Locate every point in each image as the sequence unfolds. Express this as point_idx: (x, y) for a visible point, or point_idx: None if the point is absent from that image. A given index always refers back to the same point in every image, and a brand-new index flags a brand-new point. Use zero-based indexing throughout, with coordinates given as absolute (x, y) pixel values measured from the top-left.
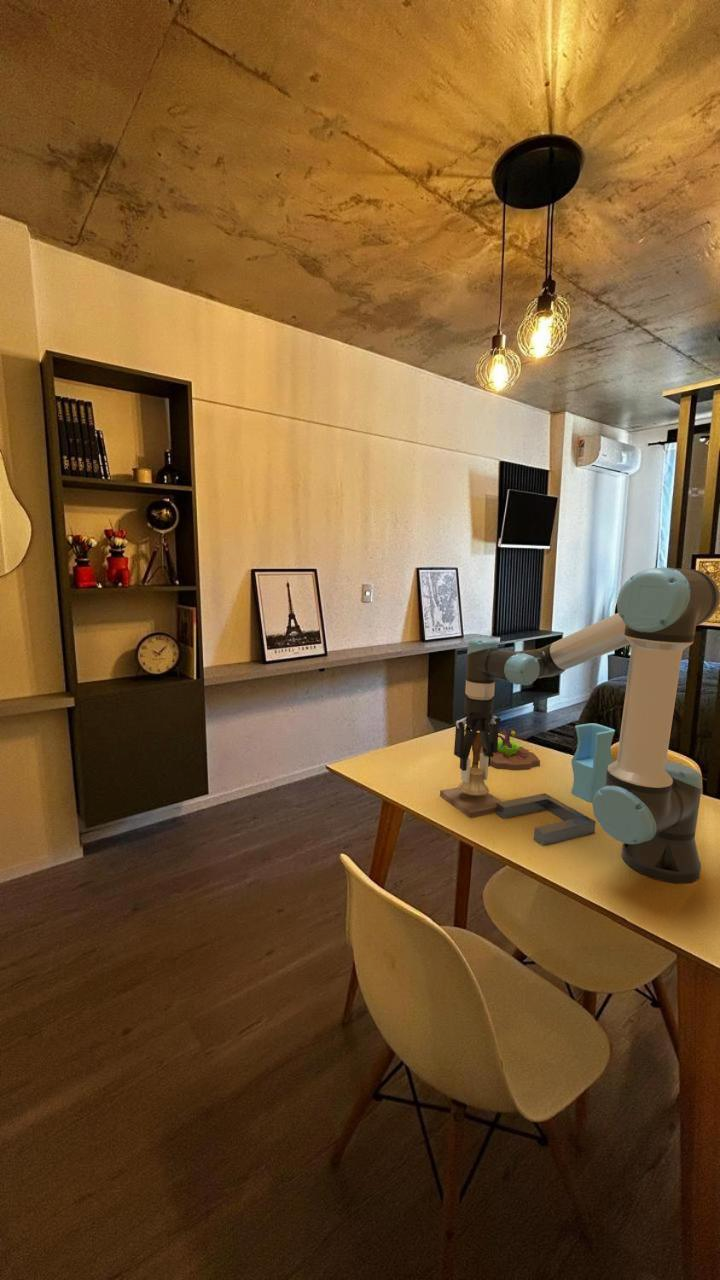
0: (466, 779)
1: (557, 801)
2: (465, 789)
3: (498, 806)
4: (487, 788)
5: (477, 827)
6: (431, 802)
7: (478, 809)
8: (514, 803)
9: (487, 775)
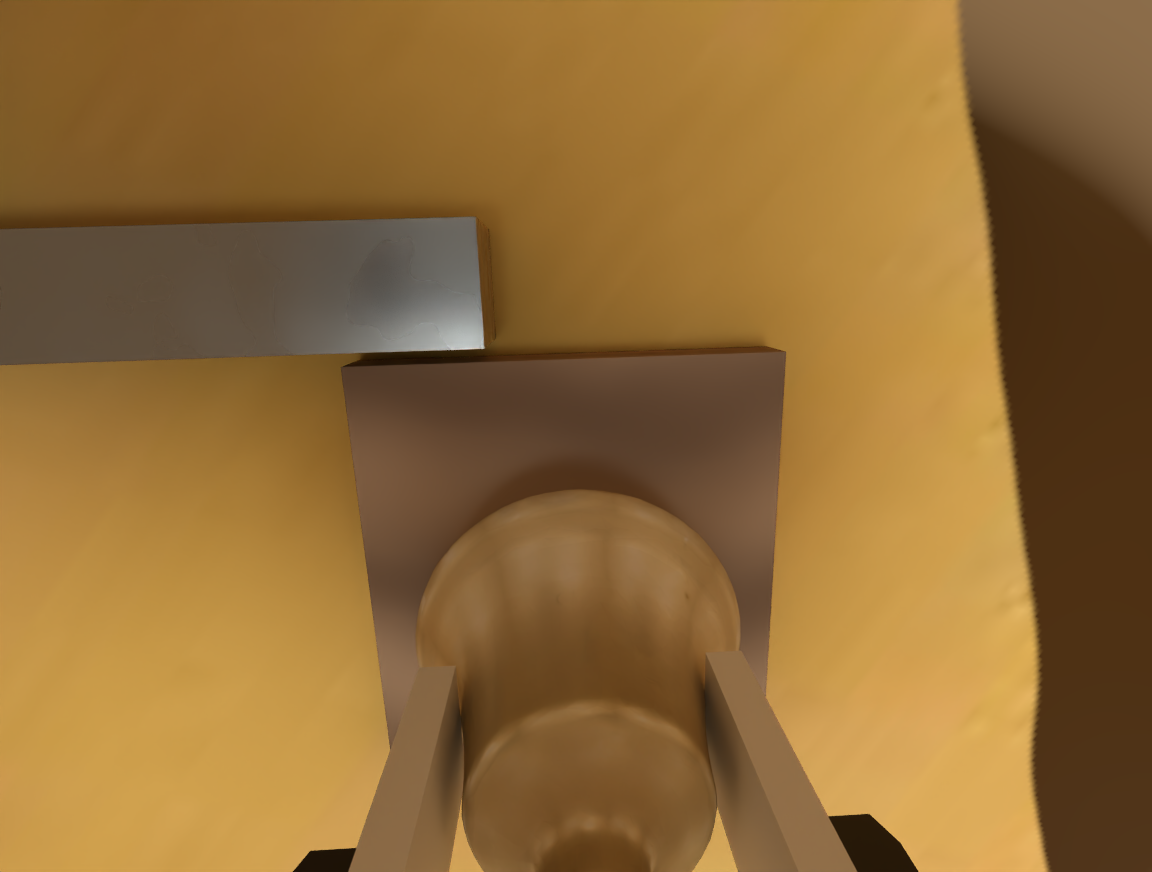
0: (757, 692)
1: None
2: (724, 612)
3: (486, 313)
4: (458, 572)
5: (813, 172)
6: (877, 664)
7: (673, 376)
8: (297, 265)
9: (404, 709)
